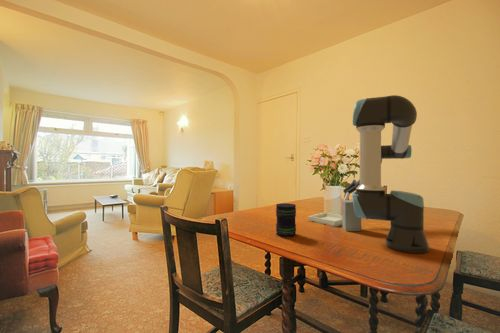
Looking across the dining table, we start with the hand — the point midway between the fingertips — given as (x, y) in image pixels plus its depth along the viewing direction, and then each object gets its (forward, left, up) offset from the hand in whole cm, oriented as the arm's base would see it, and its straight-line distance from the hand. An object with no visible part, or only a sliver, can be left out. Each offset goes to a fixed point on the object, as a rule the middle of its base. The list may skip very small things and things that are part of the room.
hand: (356, 203), depth 132 cm
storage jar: (-39, +16, -13) cm, 45 cm away
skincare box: (-6, -1, -13) cm, 15 cm away
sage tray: (+2, +17, -13) cm, 22 cm away
